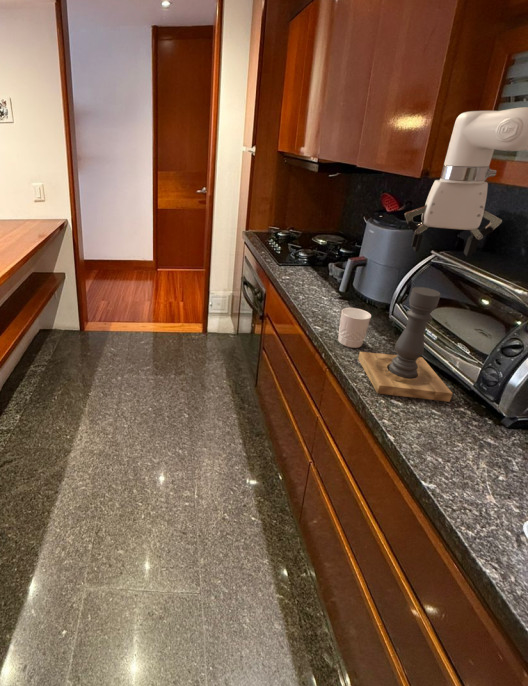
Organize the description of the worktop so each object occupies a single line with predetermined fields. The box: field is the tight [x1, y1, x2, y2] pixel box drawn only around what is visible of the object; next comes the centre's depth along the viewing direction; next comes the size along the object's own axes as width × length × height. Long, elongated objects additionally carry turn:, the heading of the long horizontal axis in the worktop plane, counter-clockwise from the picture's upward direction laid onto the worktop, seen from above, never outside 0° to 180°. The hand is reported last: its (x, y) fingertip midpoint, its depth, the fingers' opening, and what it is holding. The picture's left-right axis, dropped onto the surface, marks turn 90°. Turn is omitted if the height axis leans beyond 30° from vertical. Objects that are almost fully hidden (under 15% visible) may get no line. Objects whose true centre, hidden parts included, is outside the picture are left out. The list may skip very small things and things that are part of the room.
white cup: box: [337, 307, 372, 349], centre depth 117 cm, size 8×8×10 cm
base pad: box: [357, 351, 453, 403], centre depth 101 cm, size 16×16×2 cm
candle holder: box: [388, 286, 441, 379], centre depth 97 cm, size 6×6×25 cm
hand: (440, 252), depth 88 cm, fingers open, 9 cm apart
